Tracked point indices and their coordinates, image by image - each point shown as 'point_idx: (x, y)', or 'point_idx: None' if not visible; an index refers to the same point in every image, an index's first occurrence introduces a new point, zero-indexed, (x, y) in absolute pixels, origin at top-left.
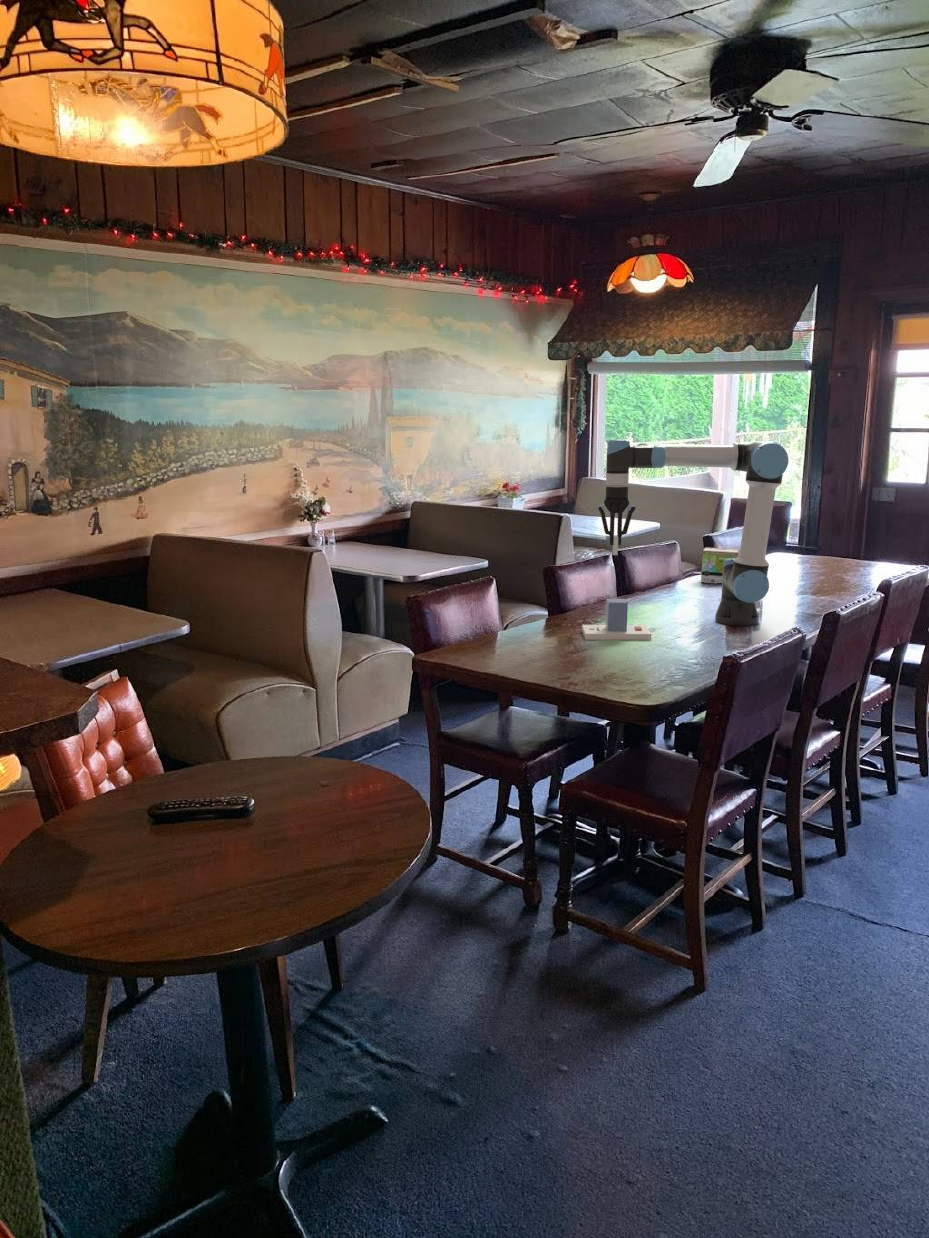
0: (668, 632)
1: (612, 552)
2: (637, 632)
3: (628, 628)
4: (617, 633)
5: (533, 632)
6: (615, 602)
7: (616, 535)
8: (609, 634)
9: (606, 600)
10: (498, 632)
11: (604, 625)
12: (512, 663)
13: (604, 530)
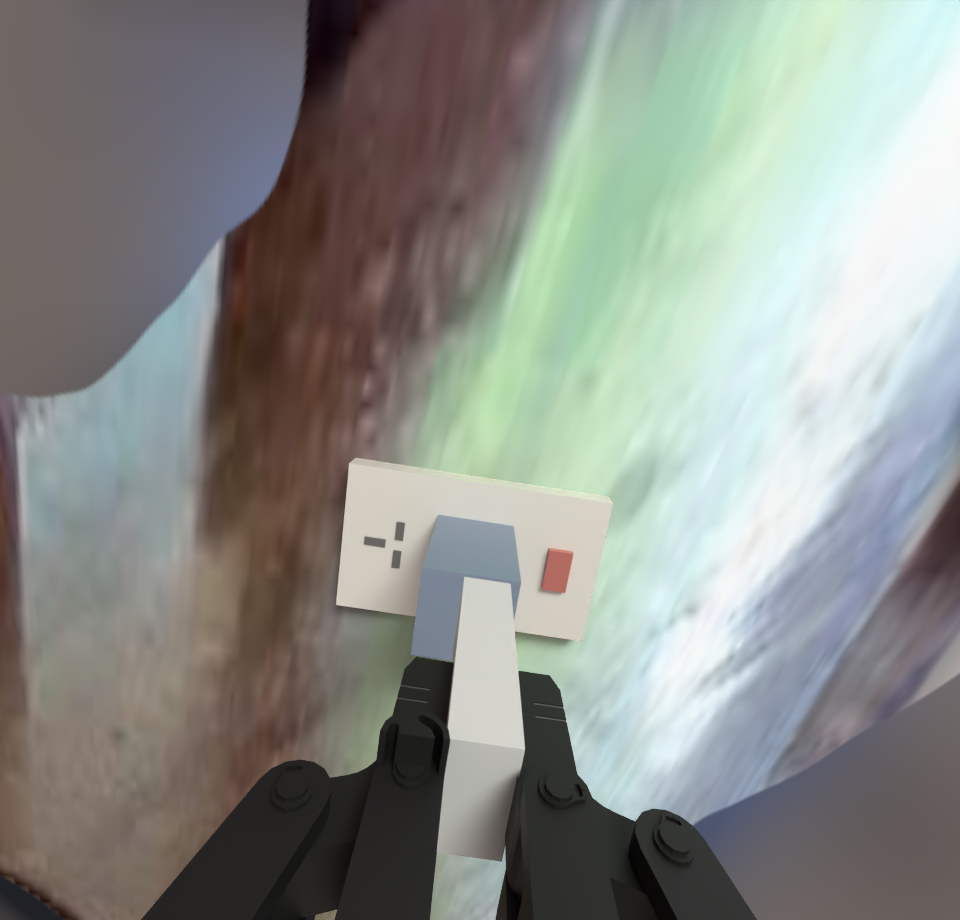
0: (685, 535)
1: (463, 585)
2: (537, 614)
3: (523, 550)
4: None
5: (158, 461)
6: (444, 658)
7: (505, 762)
8: None
9: (423, 565)
10: (18, 441)
11: (440, 487)
12: (85, 814)
13: (234, 835)
